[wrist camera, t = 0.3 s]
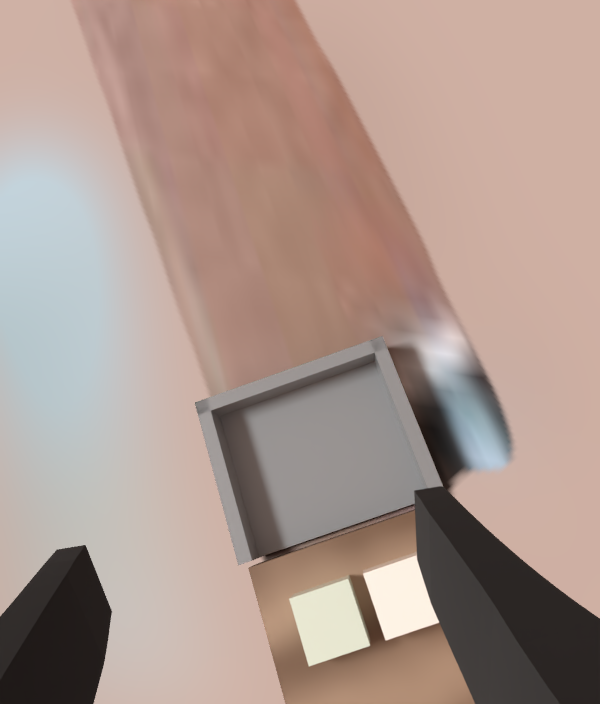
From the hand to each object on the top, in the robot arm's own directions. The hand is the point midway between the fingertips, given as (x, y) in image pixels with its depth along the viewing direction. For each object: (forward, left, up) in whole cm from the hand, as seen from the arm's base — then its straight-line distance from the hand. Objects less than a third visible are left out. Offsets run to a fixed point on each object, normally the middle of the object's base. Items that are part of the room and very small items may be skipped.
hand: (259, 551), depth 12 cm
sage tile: (-5, +2, -26) cm, 27 cm away
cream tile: (-5, -3, -26) cm, 27 cm away
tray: (+5, 0, -29) cm, 29 cm away
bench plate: (-8, 0, -29) cm, 30 cm away
